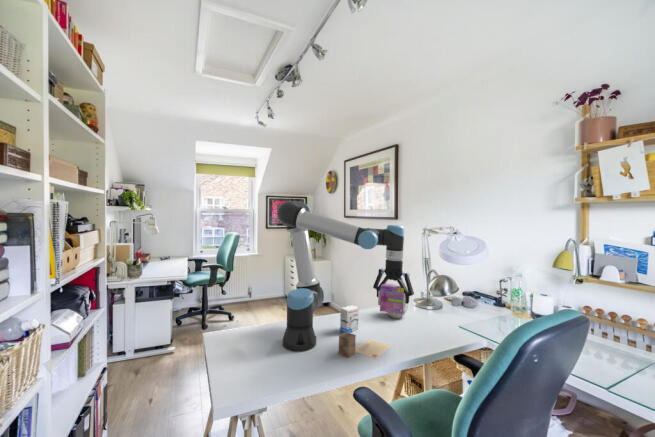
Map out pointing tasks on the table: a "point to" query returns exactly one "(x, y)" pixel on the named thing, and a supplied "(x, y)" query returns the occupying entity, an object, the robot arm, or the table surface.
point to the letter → (372, 348)
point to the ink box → (349, 319)
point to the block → (347, 344)
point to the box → (391, 298)
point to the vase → (396, 315)
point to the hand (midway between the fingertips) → (392, 307)
